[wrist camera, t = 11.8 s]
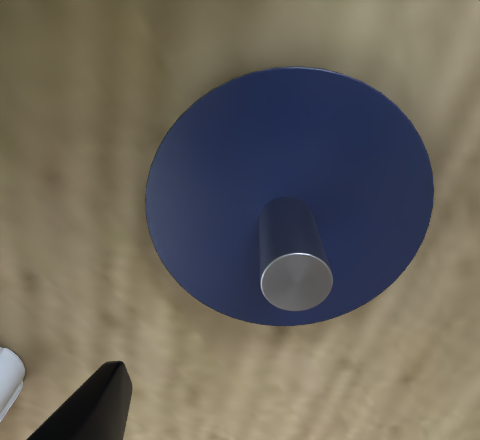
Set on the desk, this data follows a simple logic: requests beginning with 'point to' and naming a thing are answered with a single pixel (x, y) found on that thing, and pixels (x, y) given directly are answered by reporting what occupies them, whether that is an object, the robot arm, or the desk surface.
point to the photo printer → (9, 379)
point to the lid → (289, 196)
